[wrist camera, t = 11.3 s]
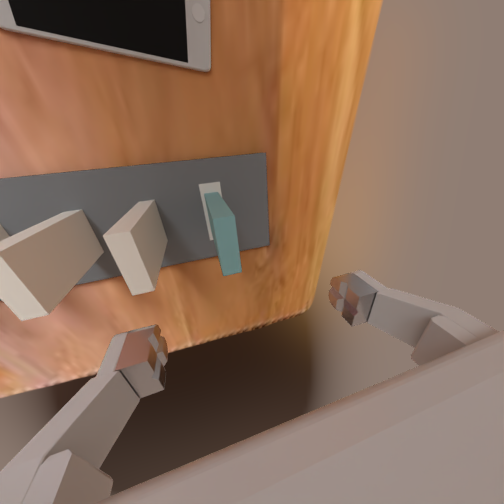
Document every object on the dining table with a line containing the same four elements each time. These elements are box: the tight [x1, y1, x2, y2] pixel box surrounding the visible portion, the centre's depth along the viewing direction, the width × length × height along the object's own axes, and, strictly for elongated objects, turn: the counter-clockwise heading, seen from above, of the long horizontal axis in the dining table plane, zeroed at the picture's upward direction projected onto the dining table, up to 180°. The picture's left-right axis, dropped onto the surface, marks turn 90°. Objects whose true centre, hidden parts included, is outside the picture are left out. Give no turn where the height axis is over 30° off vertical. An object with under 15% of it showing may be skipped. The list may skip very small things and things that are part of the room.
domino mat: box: [0, 153, 270, 301], centre depth 21 cm, size 12×42×1 cm, turn 95°
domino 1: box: [0, 209, 104, 321], centre depth 16 cm, size 2×5×10 cm, turn 5°
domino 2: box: [103, 200, 168, 296], centre depth 18 cm, size 2×5×10 cm, turn 5°
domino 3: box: [204, 192, 242, 276], centre depth 19 cm, size 2×5×10 cm, turn 5°
